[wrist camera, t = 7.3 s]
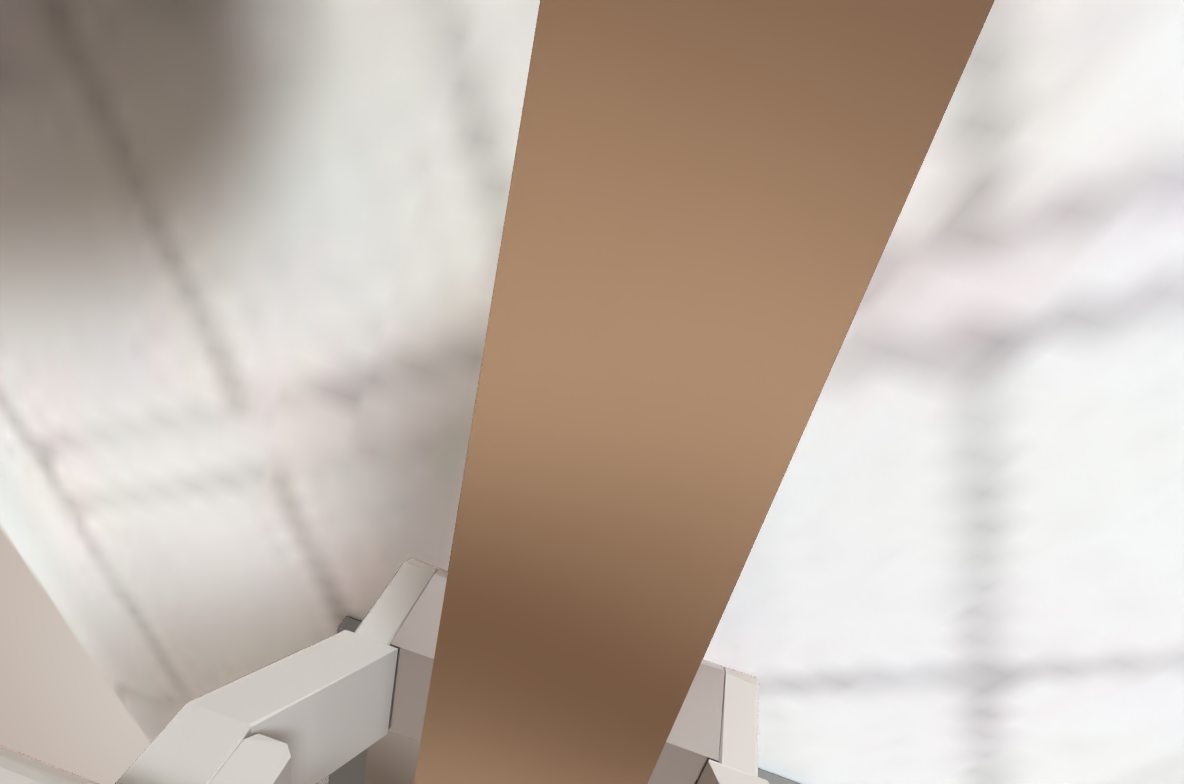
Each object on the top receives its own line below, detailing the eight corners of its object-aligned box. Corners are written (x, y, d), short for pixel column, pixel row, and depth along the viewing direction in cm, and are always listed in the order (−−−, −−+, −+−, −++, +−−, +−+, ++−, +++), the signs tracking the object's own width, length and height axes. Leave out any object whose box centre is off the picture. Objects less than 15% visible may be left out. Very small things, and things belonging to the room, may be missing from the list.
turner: (483, -109, 8) (222, -248, 4) (1099, 40, 7) (1455, 40, 4) (369, 851, 18) (263, 1067, 14) (625, 950, 18) (585, 1204, 14)
